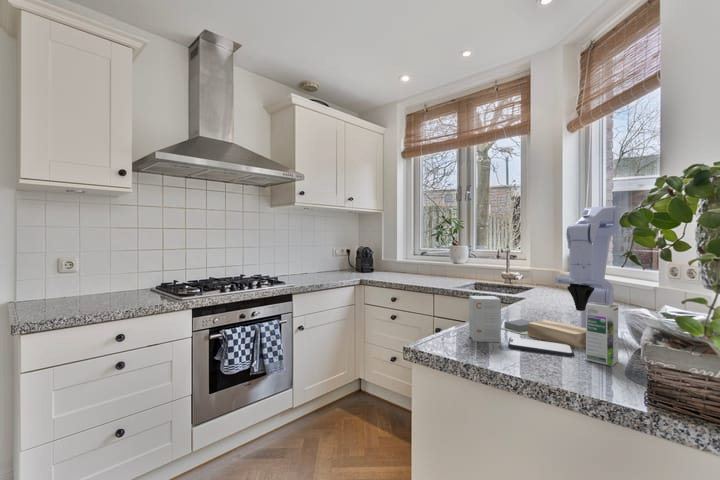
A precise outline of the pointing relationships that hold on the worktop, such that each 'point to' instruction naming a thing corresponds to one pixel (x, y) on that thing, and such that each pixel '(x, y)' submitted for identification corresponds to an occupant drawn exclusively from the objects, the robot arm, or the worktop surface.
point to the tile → (517, 325)
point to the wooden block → (558, 333)
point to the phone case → (540, 347)
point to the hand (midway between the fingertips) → (580, 310)
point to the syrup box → (602, 333)
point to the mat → (516, 331)
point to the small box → (485, 318)
